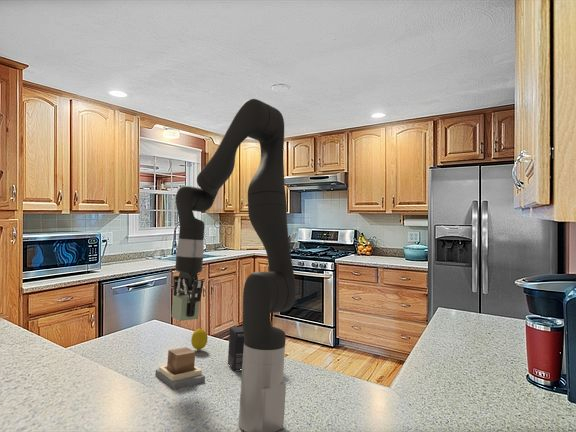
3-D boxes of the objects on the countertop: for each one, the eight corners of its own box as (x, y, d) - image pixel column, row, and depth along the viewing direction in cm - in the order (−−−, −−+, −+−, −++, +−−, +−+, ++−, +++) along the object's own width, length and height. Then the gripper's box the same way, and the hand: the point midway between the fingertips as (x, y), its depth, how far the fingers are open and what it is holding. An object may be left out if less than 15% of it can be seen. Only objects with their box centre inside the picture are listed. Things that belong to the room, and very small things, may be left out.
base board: (204, 381, 98) (205, 371, 99) (174, 389, 92) (175, 378, 92) (184, 368, 107) (185, 359, 107) (155, 374, 101) (156, 365, 101)
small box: (264, 360, 119) (267, 324, 120) (272, 367, 113) (275, 329, 113) (226, 364, 113) (229, 326, 114) (232, 372, 107) (235, 331, 108)
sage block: (198, 318, 101) (199, 297, 101) (180, 320, 97) (181, 298, 97) (188, 315, 105) (190, 294, 105) (171, 317, 101) (173, 295, 101)
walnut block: (193, 373, 100) (195, 352, 100) (175, 377, 96) (177, 355, 96) (184, 367, 104) (186, 347, 104) (166, 371, 100) (168, 350, 100)
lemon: (202, 354, 121) (204, 330, 122) (187, 352, 123) (189, 328, 123) (209, 349, 127) (210, 326, 127) (194, 347, 128) (196, 325, 129)
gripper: (214, 257, 100) (209, 318, 98) (189, 253, 110) (185, 308, 109) (189, 256, 94) (184, 320, 93) (166, 253, 105) (161, 310, 104)
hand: (185, 314), depth 101 cm, fingers closed on sage block, 5 cm apart
